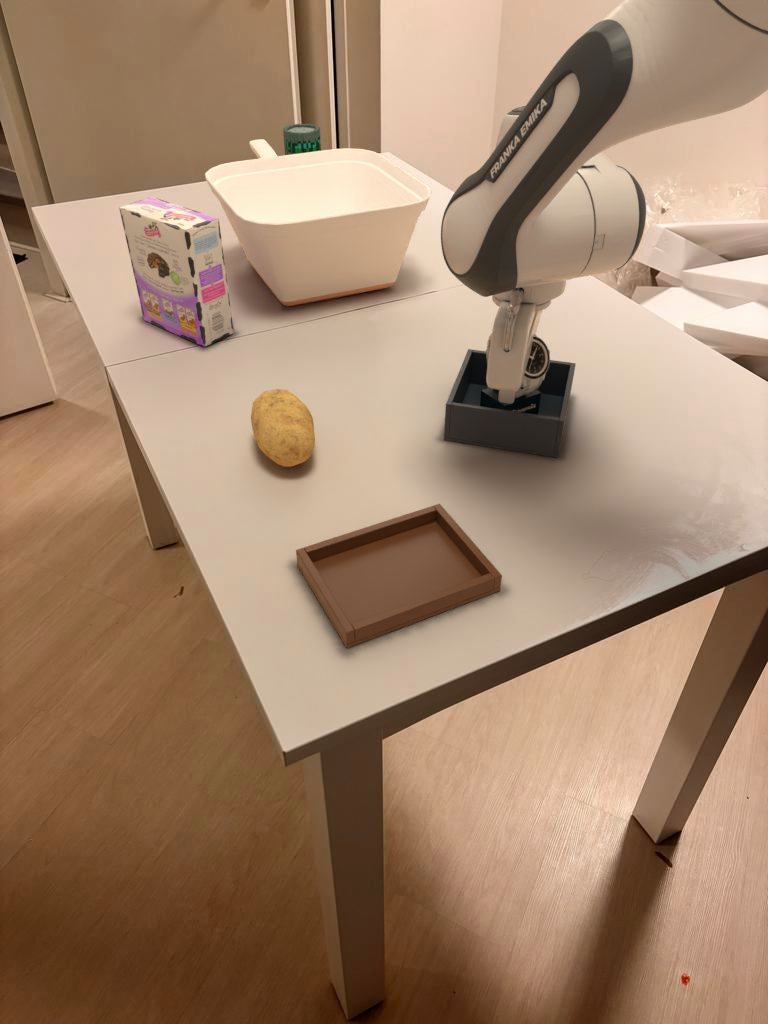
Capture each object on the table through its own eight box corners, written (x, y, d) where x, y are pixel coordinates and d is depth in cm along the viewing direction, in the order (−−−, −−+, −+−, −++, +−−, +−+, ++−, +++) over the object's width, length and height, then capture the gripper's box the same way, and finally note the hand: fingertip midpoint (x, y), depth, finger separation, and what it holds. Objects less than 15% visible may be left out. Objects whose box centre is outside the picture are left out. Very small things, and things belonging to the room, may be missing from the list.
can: (298, 223, 146) (292, 135, 136) (285, 213, 150) (278, 126, 140) (328, 217, 148) (324, 130, 138) (314, 207, 152) (310, 122, 143)
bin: (569, 397, 100) (575, 363, 97) (558, 458, 90) (564, 421, 87) (465, 383, 103) (468, 348, 100) (443, 439, 93) (445, 403, 90)
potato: (304, 421, 96) (300, 375, 92) (327, 474, 88) (324, 427, 84) (248, 430, 95) (242, 384, 90) (266, 486, 86) (261, 438, 82)
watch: (513, 436, 92) (523, 349, 86) (470, 407, 98) (476, 322, 91) (549, 422, 95) (562, 336, 88) (505, 394, 100) (514, 311, 93)
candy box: (236, 333, 113) (221, 216, 103) (204, 349, 110) (185, 229, 99) (173, 306, 120) (152, 193, 109) (141, 320, 116) (116, 205, 106)
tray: (438, 518, 82) (439, 503, 81) (500, 590, 74) (502, 575, 73) (296, 565, 77) (295, 549, 76) (346, 648, 69) (346, 633, 68)
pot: (260, 334, 113) (249, 229, 103) (187, 228, 144) (173, 139, 134) (441, 298, 122) (446, 198, 112) (335, 205, 153) (332, 121, 143)
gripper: (543, 317, 76) (526, 437, 85) (564, 238, 91) (548, 347, 100) (477, 309, 78) (467, 428, 86) (509, 233, 93) (498, 341, 102)
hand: (511, 384), depth 93 cm, fingers closed on watch, 5 cm apart
